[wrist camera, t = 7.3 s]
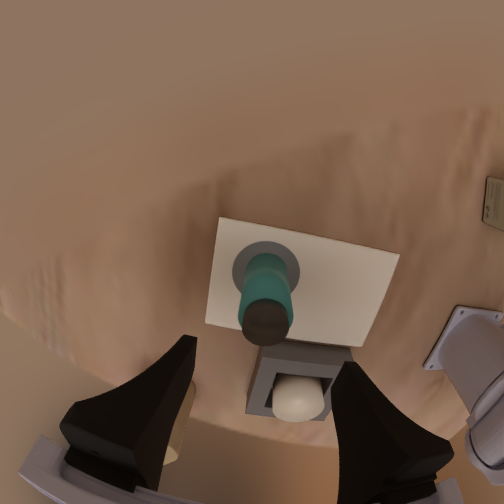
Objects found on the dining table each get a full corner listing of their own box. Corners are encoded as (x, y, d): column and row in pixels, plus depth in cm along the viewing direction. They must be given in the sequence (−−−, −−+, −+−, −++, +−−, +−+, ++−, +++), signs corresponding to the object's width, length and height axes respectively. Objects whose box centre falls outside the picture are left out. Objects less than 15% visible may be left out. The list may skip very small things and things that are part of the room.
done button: (326, 370, 22) (332, 394, 19) (311, 400, 24) (314, 423, 21) (279, 364, 22) (279, 390, 19) (267, 395, 24) (267, 419, 21)
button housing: (349, 348, 23) (355, 367, 20) (320, 402, 26) (323, 420, 23) (263, 336, 23) (262, 356, 20) (247, 394, 26) (245, 413, 23)
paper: (398, 253, 20) (400, 255, 19) (360, 344, 23) (362, 347, 22) (219, 216, 19) (219, 217, 19) (205, 320, 23) (204, 323, 22)
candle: (139, 365, 25) (101, 438, 16) (187, 366, 25) (158, 450, 15) (157, 398, 27) (130, 467, 18) (202, 400, 26) (183, 477, 17)
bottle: (291, 258, 20) (302, 309, 13) (280, 294, 21) (285, 354, 14) (250, 248, 20) (242, 297, 13) (242, 285, 21) (231, 344, 14)
